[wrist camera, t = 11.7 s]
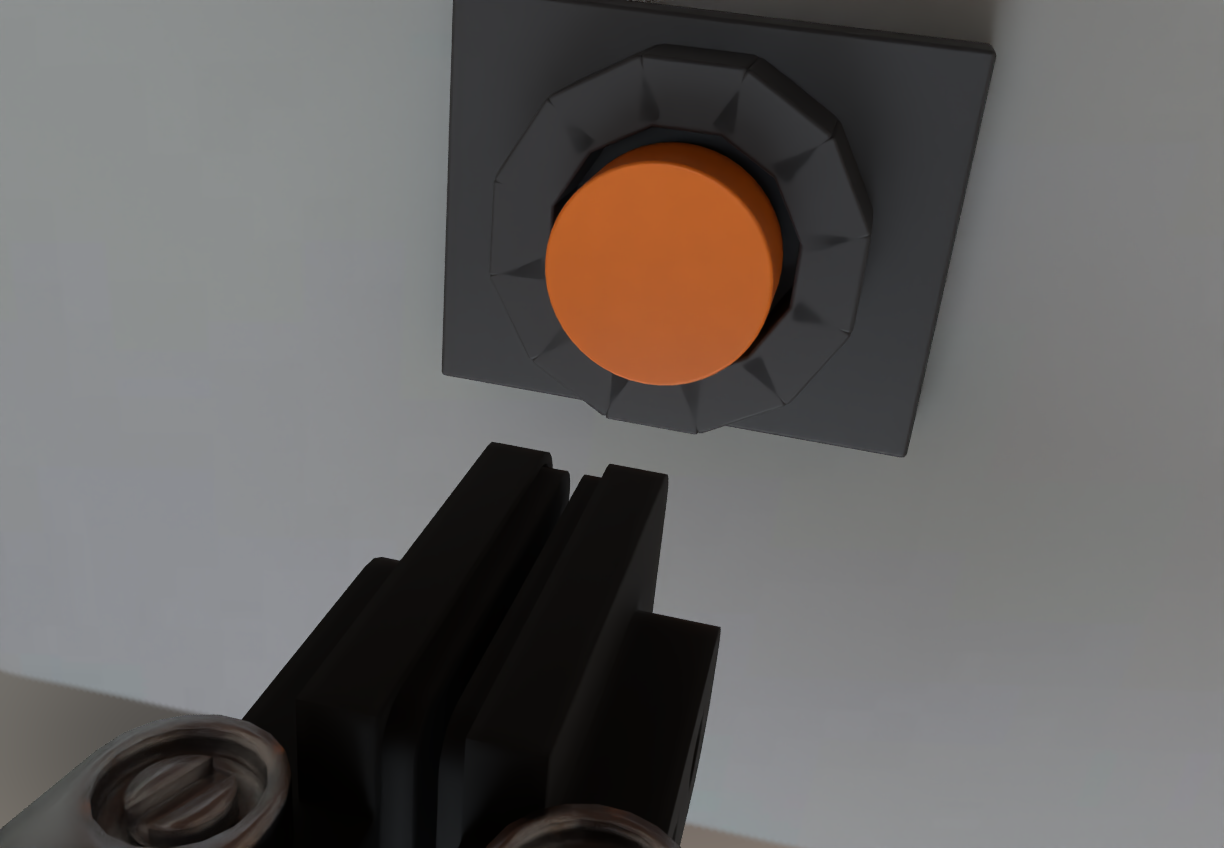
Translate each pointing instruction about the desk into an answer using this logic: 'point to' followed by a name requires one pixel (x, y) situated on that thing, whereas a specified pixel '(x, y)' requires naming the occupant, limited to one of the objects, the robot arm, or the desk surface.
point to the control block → (763, 146)
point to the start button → (665, 264)
